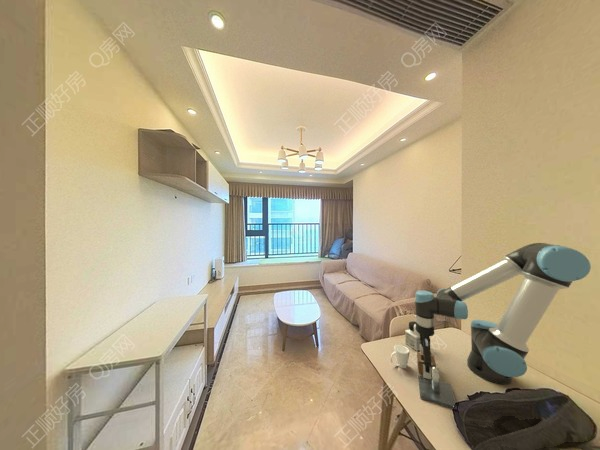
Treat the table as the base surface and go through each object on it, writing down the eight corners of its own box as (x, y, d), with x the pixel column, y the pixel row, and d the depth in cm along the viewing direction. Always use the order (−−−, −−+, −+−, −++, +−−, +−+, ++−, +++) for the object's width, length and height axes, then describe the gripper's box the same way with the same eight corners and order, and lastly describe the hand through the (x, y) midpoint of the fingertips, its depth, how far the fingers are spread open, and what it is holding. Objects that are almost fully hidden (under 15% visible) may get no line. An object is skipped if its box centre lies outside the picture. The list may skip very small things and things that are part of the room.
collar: (434, 368, 93) (433, 356, 93) (436, 378, 87) (436, 365, 87) (417, 363, 97) (417, 352, 97) (418, 373, 90) (418, 361, 90)
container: (405, 343, 114) (404, 321, 114) (415, 340, 116) (414, 319, 116) (416, 351, 106) (415, 327, 106) (427, 348, 109) (426, 325, 109)
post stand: (450, 386, 83) (449, 362, 83) (457, 410, 72) (457, 382, 72) (417, 377, 88) (417, 354, 88) (420, 398, 78) (419, 372, 78)
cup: (413, 368, 94) (412, 351, 94) (396, 372, 91) (395, 355, 91) (402, 358, 101) (402, 343, 101) (386, 362, 98) (385, 346, 98)
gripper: (413, 311, 105) (414, 349, 105) (418, 336, 83) (418, 384, 83) (429, 314, 102) (430, 353, 102) (439, 340, 79) (440, 391, 79)
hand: (425, 367), depth 92 cm, fingers open, 13 cm apart
